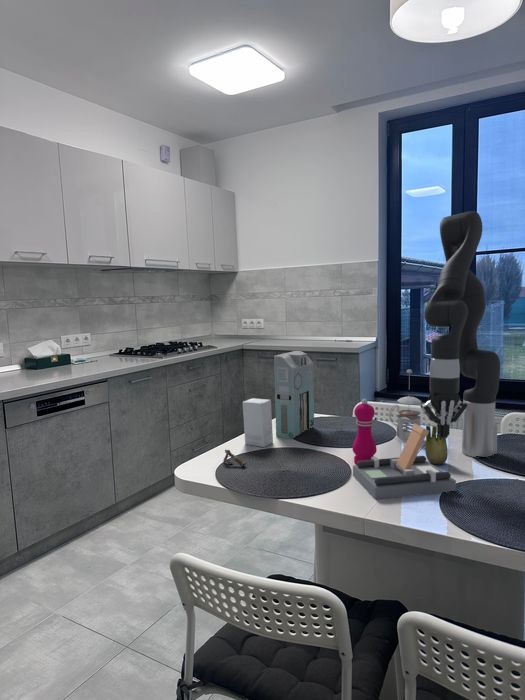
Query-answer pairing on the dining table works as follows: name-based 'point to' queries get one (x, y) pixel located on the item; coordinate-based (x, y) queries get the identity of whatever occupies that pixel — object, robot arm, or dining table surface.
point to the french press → (412, 415)
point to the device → (293, 393)
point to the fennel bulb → (435, 447)
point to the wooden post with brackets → (233, 458)
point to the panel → (369, 475)
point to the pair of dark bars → (405, 478)
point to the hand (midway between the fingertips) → (443, 437)
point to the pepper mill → (364, 433)
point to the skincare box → (257, 422)
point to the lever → (411, 447)
